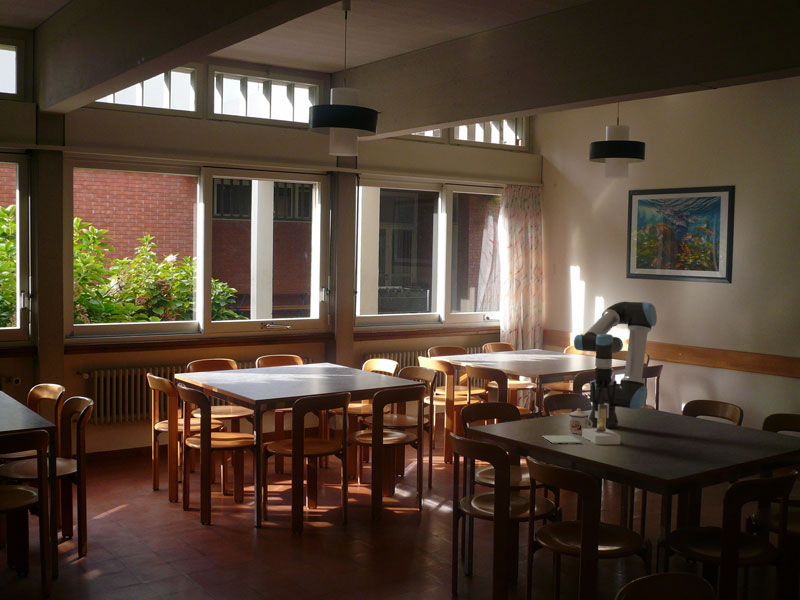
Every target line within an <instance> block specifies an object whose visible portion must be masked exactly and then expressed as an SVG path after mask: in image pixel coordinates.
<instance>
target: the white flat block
mask: <svg viewBox="0 0 800 600" xmlns="http://www.w3.org/2000/svg"><path fill="white" fill-rule="evenodd" d="M581 437H582V438H583V437H584V438H583V439H585V438H586V439H588V440H590V441H591V442H590V441H589V442H590V443H592V442H593V443H592V444H594V443H595V444H594V445H621V434H618V433H616V432H614V431H612V430H611V429H609V428H606V431H605V432H600V431H597V428H591V429H582V434H581ZM586 439H585V440H586ZM588 440H587V441H588Z"/></svg>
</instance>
